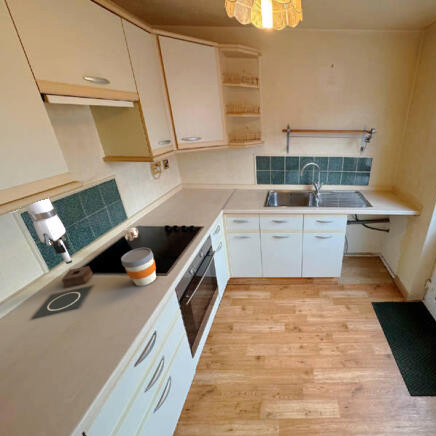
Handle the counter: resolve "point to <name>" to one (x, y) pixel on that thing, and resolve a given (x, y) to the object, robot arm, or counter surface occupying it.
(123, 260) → the reusable coffee cup
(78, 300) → the slate board
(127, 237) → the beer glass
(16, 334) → the counter surface
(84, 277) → the holder
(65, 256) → the marker
